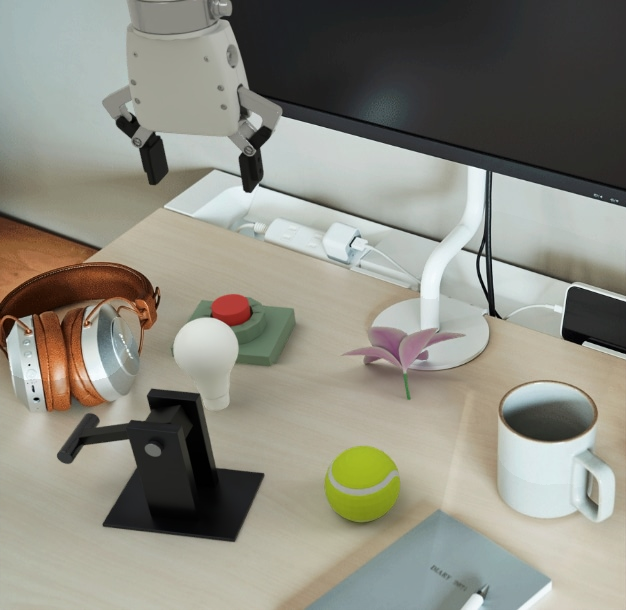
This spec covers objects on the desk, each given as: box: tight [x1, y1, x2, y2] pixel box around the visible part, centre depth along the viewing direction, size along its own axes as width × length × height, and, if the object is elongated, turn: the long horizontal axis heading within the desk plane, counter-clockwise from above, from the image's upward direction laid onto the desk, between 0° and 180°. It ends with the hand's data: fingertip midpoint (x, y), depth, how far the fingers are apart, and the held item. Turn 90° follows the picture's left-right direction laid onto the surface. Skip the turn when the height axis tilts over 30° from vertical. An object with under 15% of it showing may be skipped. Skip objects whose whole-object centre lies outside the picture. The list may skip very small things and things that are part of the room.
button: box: [211, 293, 251, 327], centre depth 101 cm, size 4×4×2 cm
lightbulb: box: [173, 318, 239, 412], centre depth 91 cm, size 6×6×11 cm
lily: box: [340, 326, 467, 401], centre depth 96 cm, size 12×12×10 cm
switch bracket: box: [101, 388, 265, 543], centre depth 80 cm, size 12×8×12 cm, turn 82°
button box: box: [170, 296, 297, 367], centre depth 103 cm, size 11×9×4 cm
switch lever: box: [56, 405, 193, 465], centre depth 79 cm, size 11×5×2 cm, turn 82°
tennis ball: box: [324, 445, 401, 523], centre depth 82 cm, size 7×7×7 cm
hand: (205, 182), depth 91 cm, fingers open, 9 cm apart
